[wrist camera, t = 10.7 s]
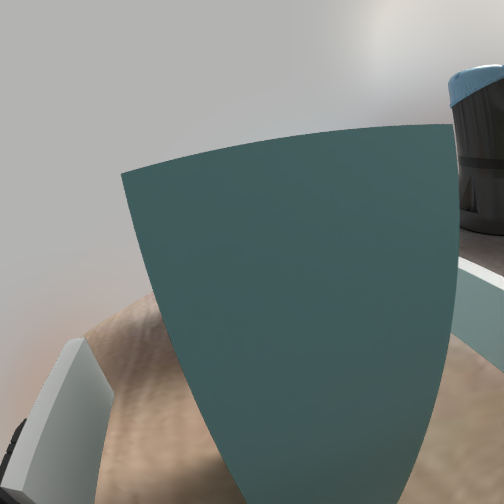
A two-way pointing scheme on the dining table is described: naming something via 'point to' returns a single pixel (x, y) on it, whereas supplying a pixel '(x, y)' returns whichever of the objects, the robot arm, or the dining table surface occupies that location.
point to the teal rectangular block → (309, 301)
